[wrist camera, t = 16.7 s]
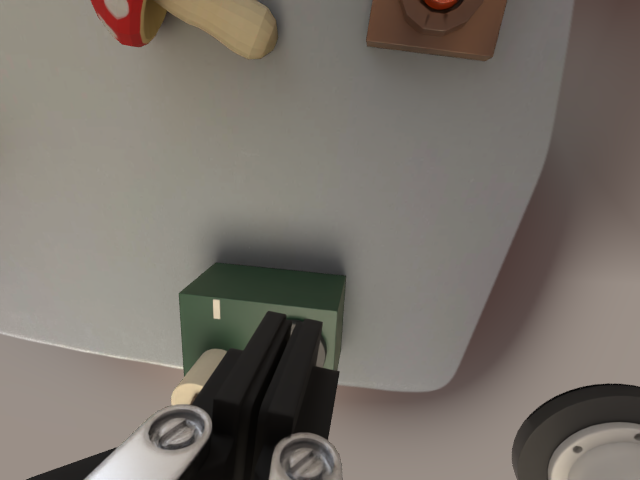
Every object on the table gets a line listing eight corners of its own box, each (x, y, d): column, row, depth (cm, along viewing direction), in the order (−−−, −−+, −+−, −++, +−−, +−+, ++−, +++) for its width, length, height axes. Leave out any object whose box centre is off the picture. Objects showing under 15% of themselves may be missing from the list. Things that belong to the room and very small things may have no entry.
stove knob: (208, 340, 35) (176, 379, 29) (247, 362, 35) (223, 404, 29) (192, 372, 36) (159, 415, 31) (230, 393, 36) (204, 439, 31)
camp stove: (346, 275, 40) (336, 315, 31) (340, 352, 42) (330, 408, 34) (215, 262, 41) (173, 296, 33) (218, 336, 44) (179, 386, 36)
